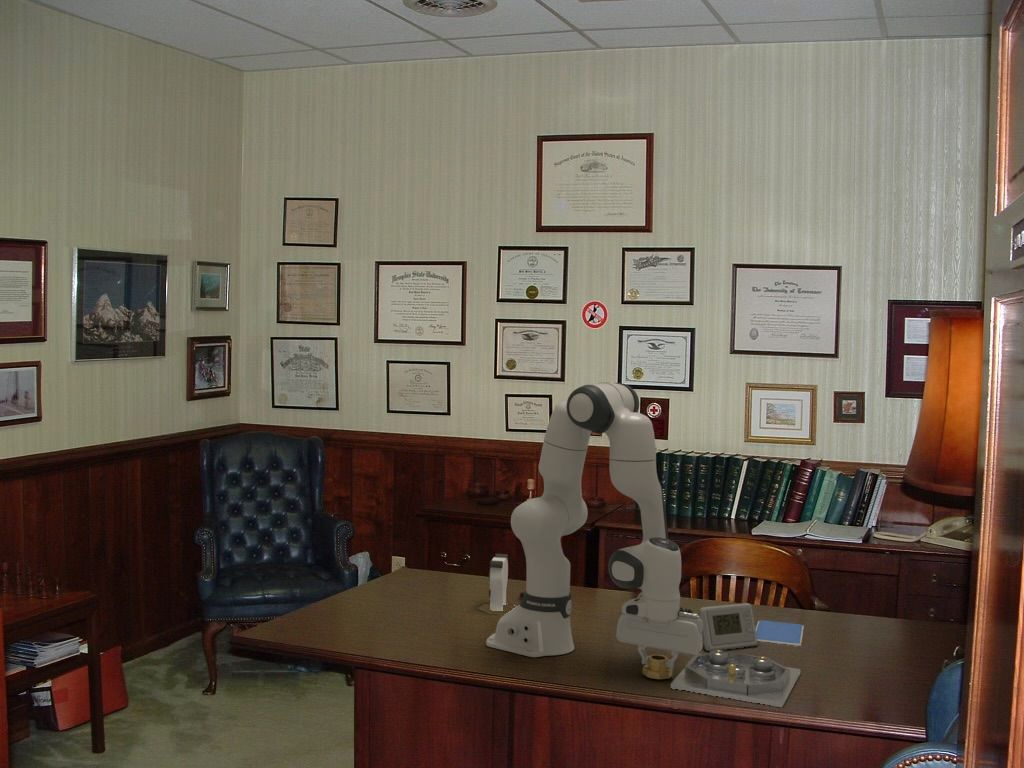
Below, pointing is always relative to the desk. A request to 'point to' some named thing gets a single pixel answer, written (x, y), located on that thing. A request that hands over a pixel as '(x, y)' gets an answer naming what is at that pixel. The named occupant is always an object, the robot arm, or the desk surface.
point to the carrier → (738, 677)
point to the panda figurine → (498, 581)
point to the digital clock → (728, 626)
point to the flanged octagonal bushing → (657, 667)
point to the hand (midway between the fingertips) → (657, 666)
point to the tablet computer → (779, 632)
